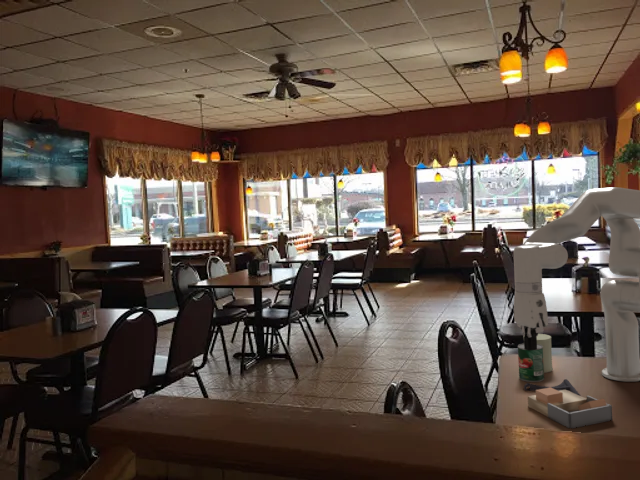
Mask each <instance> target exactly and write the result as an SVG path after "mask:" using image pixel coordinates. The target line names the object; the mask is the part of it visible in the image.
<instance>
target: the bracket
mask: <svg viewBox="0 0 640 480" xmlns="http://www.w3.org/2000/svg"><path fill="white" fill-rule="evenodd" d="M562 380H563V381H562V382H561V383H560V384H557V385H554V386H547V385H546V386H545V385H543V386H542V385H538V384H533V383H531V382H526V383H525V384H524V386H523V389H524V391H525V392H526V391H528V392H529V391H530V392H531V391H535V392H536V390H539V389H544V388H550V387H551V388H553V389H555V390H558V391H560V390H567V391H570V392H572V393H574V394H577V395H579V396H581V394H580V392H578V391H577V389H576V388H575V387H574V386H573V384H572V383H571V382H570V381H569V380H568V379H567V378H566V379H562ZM528 387H529V388H528Z"/></svg>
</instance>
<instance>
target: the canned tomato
mask: <svg viewBox="0 0 640 480" xmlns="http://www.w3.org/2000/svg"><path fill="white" fill-rule="evenodd" d="M517 358H518V378H519V380H520V381H522V382H526V383H539V382H543V381H544V380H545V373H544V366H543V346H542V345H540V344H537V349H536V350H530V351H528V350H525V349H524V343H519V344H518V345H517Z"/></svg>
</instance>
